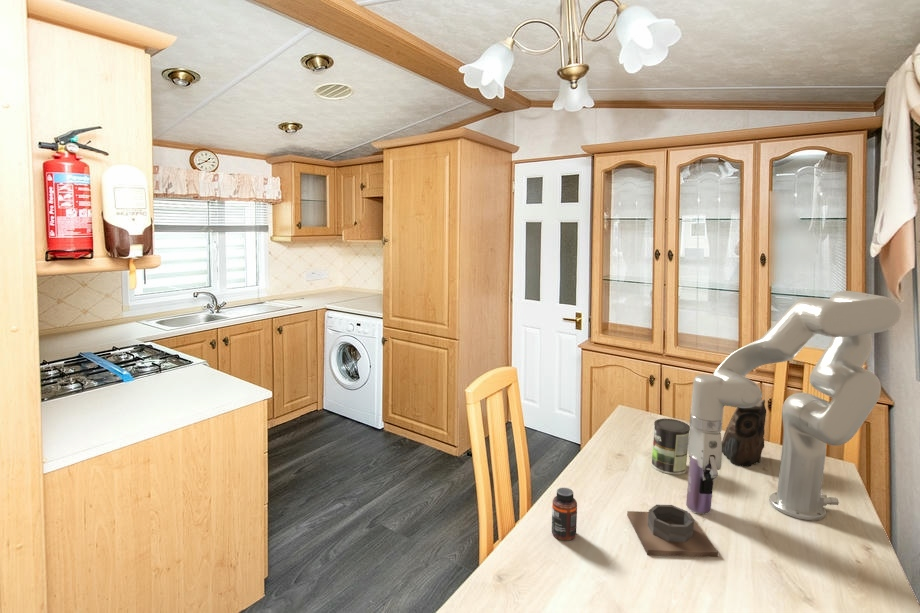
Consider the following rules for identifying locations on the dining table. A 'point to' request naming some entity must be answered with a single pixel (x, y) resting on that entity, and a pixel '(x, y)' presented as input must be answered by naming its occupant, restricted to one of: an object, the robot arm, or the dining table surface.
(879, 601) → the dining table surface
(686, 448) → the coffee can
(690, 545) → the can holder
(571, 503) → the supplement bottle
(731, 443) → the owl
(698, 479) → the beverage can
